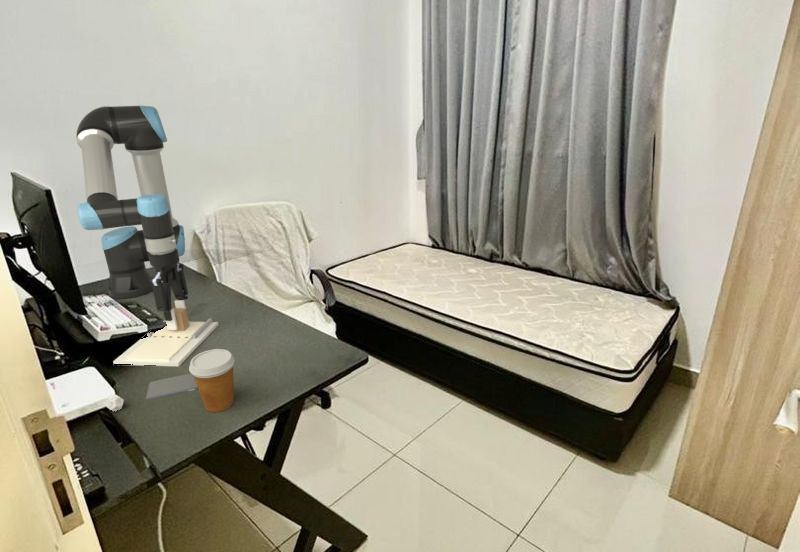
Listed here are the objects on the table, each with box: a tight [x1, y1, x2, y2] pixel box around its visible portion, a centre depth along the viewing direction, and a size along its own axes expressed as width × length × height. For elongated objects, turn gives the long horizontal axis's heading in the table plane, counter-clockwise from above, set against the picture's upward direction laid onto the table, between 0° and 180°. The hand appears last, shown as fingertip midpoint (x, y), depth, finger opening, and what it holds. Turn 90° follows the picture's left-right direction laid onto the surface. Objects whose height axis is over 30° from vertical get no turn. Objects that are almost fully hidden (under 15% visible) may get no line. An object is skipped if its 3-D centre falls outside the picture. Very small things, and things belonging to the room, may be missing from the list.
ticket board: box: [112, 317, 220, 367], centre depth 132 cm, size 24×18×2 cm
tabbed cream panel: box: [152, 307, 204, 337], centre depth 136 cm, size 8×12×7 cm, turn 86°
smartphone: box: [145, 372, 198, 400], centre depth 113 cm, size 8×1×15 cm
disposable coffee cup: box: [188, 348, 236, 413], centre depth 104 cm, size 10×10×12 cm
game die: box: [105, 394, 125, 413], centre depth 104 cm, size 4×4×3 cm
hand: (178, 324), depth 137 cm, fingers open, 5 cm apart
